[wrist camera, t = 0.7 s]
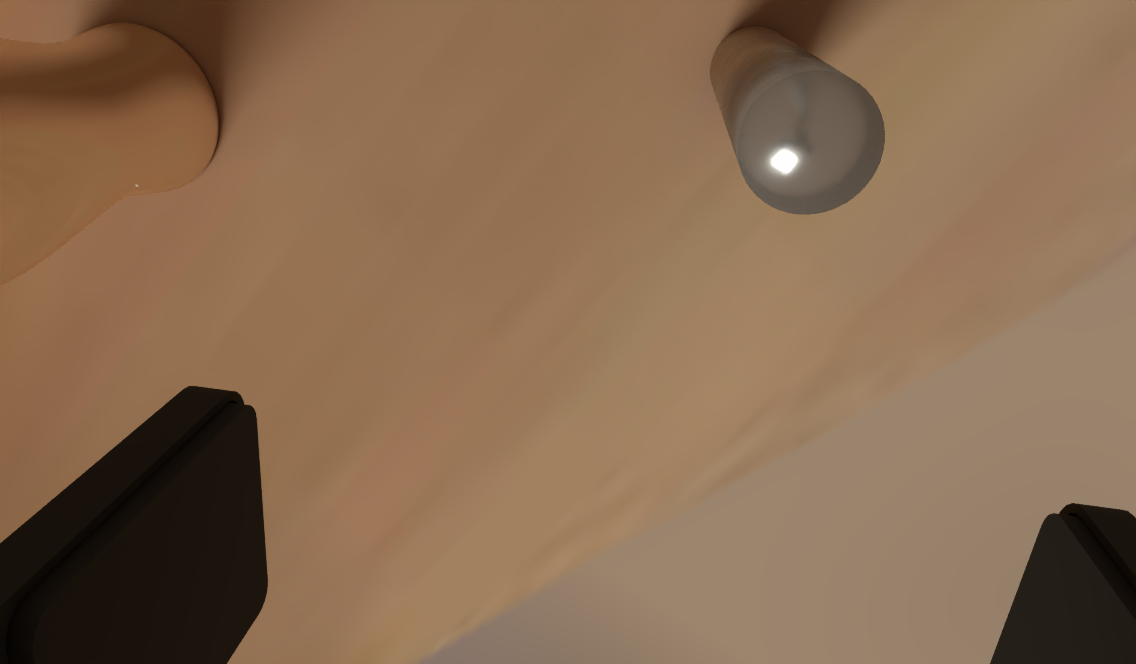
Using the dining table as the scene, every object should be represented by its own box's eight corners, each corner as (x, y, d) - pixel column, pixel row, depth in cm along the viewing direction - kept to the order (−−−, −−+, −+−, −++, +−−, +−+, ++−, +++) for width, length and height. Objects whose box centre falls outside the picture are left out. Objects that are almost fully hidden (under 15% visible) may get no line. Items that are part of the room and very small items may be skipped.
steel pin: (715, 23, 28) (748, 65, 16) (801, 29, 28) (899, 76, 16) (705, 109, 29) (728, 208, 17) (787, 115, 29) (868, 220, 17)
